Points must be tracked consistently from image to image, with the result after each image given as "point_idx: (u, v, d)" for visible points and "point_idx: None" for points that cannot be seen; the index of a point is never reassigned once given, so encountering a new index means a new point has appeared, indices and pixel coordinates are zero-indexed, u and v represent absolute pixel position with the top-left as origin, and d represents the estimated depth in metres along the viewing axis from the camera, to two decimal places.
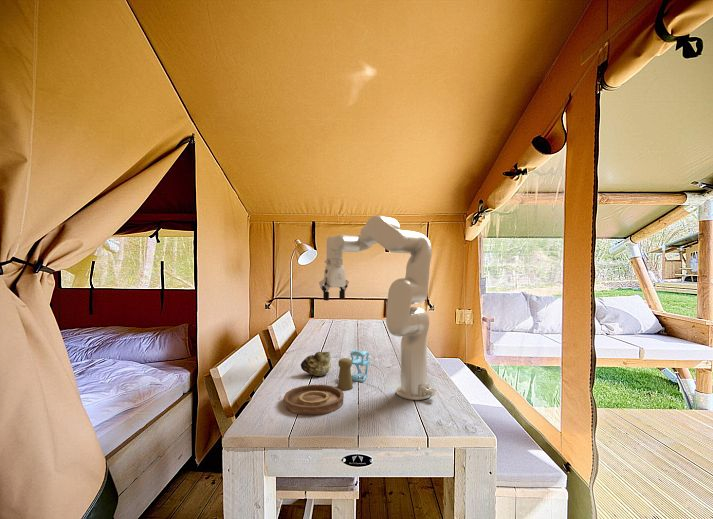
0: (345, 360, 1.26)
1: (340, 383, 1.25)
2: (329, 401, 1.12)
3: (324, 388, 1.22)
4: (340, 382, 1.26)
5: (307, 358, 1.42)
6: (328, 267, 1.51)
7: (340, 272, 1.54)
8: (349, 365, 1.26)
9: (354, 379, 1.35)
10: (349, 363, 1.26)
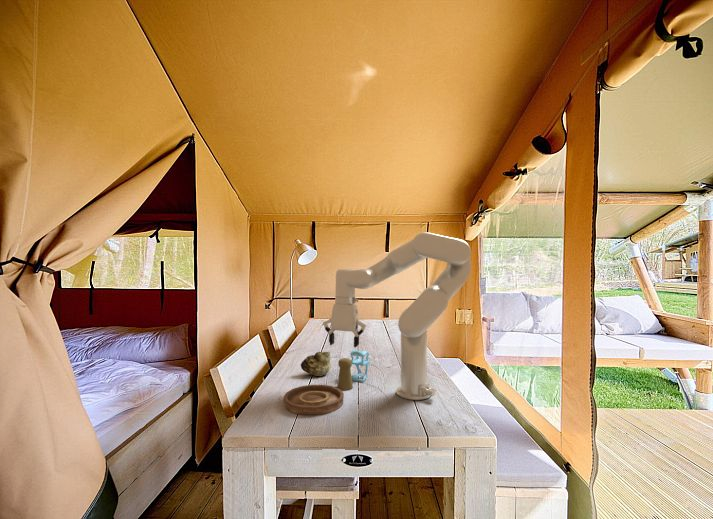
0: (345, 360, 1.26)
1: (340, 383, 1.25)
2: (329, 401, 1.12)
3: (324, 388, 1.22)
4: (340, 382, 1.26)
5: (307, 358, 1.42)
6: (356, 306, 1.28)
7: None
8: (349, 365, 1.26)
9: (354, 379, 1.35)
10: (349, 363, 1.26)
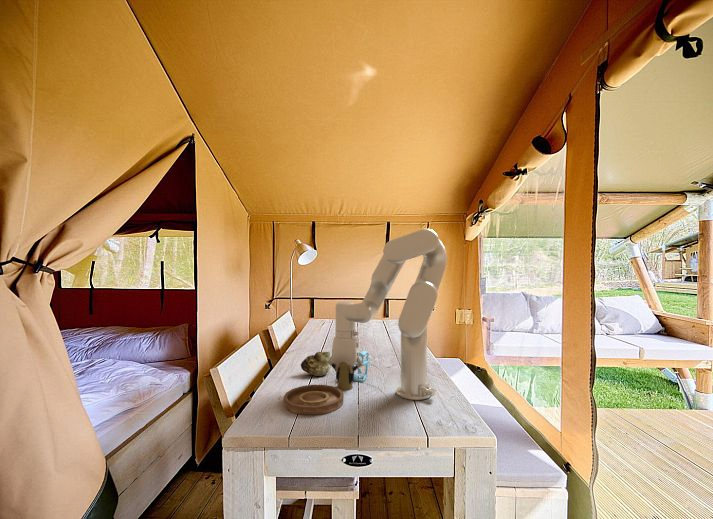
0: None
1: (340, 383, 1.25)
2: (329, 401, 1.12)
3: (324, 388, 1.22)
4: (340, 382, 1.26)
5: (307, 358, 1.42)
6: None
7: None
8: None
9: (354, 379, 1.35)
10: None
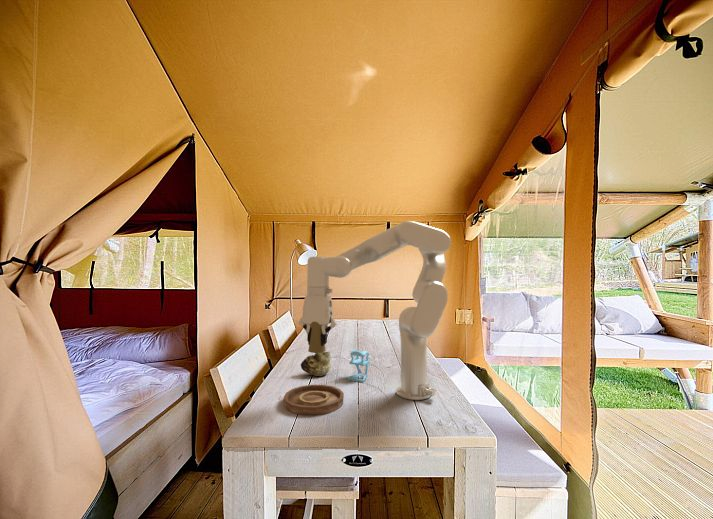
0: None
1: (311, 345, 1.13)
2: (329, 401, 1.12)
3: (324, 388, 1.22)
4: (311, 344, 1.13)
5: (307, 358, 1.42)
6: None
7: None
8: (321, 325, 1.14)
9: (354, 379, 1.35)
10: None
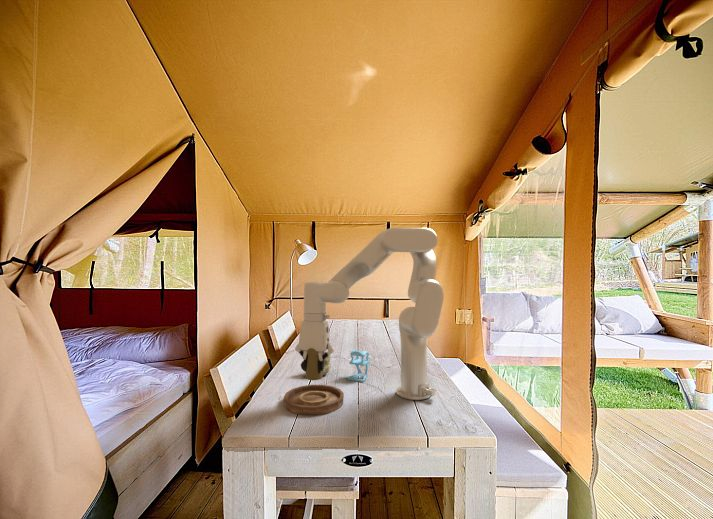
0: None
1: (308, 372, 1.12)
2: (329, 401, 1.12)
3: (324, 388, 1.22)
4: (308, 371, 1.12)
5: None
6: None
7: None
8: None
9: (354, 379, 1.35)
10: None
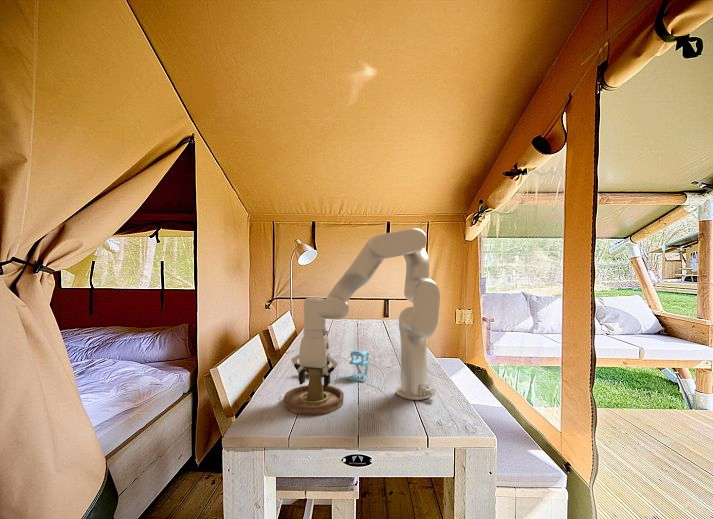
0: (315, 368, 1.12)
1: (309, 394, 1.12)
2: (329, 401, 1.12)
3: (324, 388, 1.22)
4: (309, 393, 1.12)
5: None
6: (327, 339, 1.14)
7: None
8: (319, 374, 1.12)
9: (354, 379, 1.35)
10: (319, 372, 1.12)
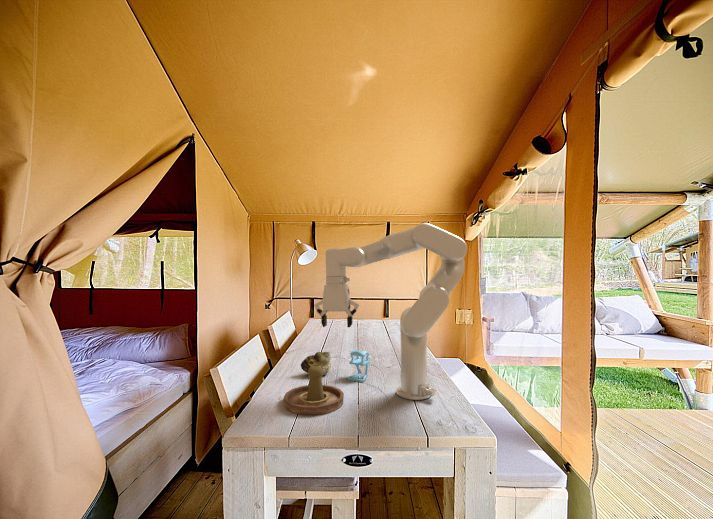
0: (315, 368, 1.12)
1: (309, 394, 1.12)
2: (329, 401, 1.12)
3: (324, 388, 1.22)
4: (309, 393, 1.12)
5: (307, 358, 1.42)
6: (348, 286, 1.25)
7: None
8: (319, 374, 1.12)
9: (354, 379, 1.35)
10: (320, 372, 1.12)
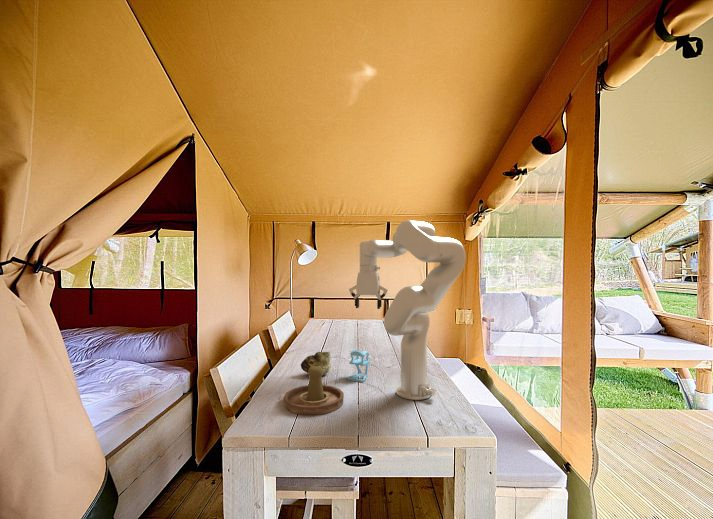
0: (315, 368, 1.12)
1: (309, 394, 1.12)
2: (329, 401, 1.12)
3: (324, 388, 1.22)
4: (309, 393, 1.12)
5: (307, 358, 1.42)
6: (378, 274, 1.46)
7: None
8: (319, 374, 1.12)
9: (354, 379, 1.35)
10: (320, 372, 1.12)
